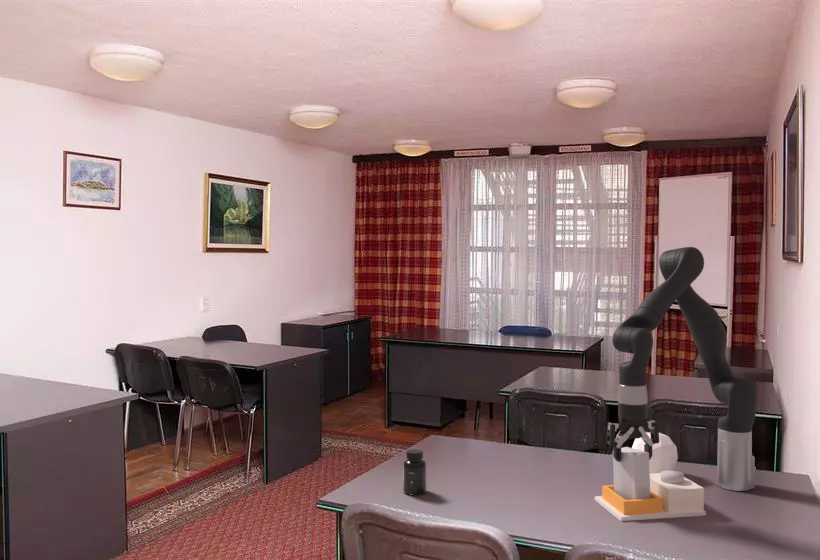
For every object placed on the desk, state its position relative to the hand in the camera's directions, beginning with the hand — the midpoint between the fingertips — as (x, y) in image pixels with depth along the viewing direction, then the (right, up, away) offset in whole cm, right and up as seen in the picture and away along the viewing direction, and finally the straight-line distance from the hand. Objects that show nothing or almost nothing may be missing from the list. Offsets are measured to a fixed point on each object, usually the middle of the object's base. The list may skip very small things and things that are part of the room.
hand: (632, 460), depth 188 cm
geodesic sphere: (+16, -13, +30) cm, 36 cm away
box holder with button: (+5, -13, +1) cm, 14 cm away
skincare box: (0, -13, +1) cm, 13 cm away
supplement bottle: (-59, -13, +14) cm, 62 cm away
